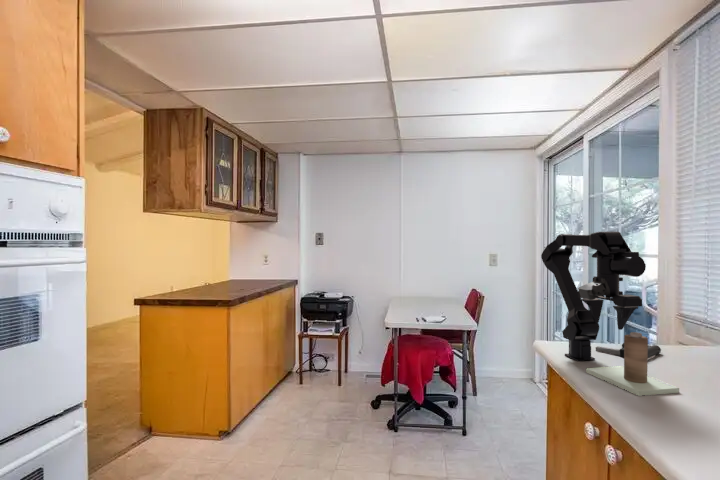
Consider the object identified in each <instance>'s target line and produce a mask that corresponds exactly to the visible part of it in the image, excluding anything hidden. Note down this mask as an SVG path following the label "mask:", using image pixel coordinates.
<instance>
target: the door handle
mask: <svg viewBox="0 0 720 480" xmlns="http://www.w3.org/2000/svg"><path fill="white" fill-rule="evenodd" d="M595 351H596V352H600V353H604V354H609V355H613V356H619V357H621V358H624V342H623V343H622V344H621V348H612V347H605V346H604V347H603V346H596V347H595ZM661 351H662V349H661V347H660V346H659V345H657V344H654V345H653V344H652V345H649V344H648V361H649V360H651V359H652V358H655V357H656V356H657V355H659V354H661V353H662V352H661Z"/></svg>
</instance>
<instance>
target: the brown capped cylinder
mask: <svg viewBox="0 0 720 480" xmlns="http://www.w3.org/2000/svg"><path fill="white" fill-rule="evenodd" d="M623 339H624V340H623V341H624V342H623V343H624V357H623V366H624V379H625V380H627V381H630V382H635V383H647V376H648V365H649V364H648V361H649V360H648V345H649V344H648V343H649V337H647V336H645V335H643V334H642V333H641V332H636V331H631V332H630V333H629V334H625V335H624V338H623Z"/></svg>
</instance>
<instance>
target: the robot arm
mask: <svg viewBox="0 0 720 480" xmlns="http://www.w3.org/2000/svg"><path fill="white" fill-rule="evenodd" d="M563 246H564V248H563ZM574 246H575V247H589V248H590V249H592V250H595V252H594V253H592V254H591V258H595V259H596V276H593V277H592V281H591V282H588V283H586V284H583V285H580V286H579V287H578V288H577V287H576V286H577V285H576V284H575V281H574V279H573V276H572V274H571V272H570V269H569V268H570V263H571V259H570V258H571V256H572V255H573V253H574V251H573V250H574V248H573V247H574ZM540 256H541V257H540V258H541V261H542V263H543V264H544V266H545V268H546V269H547V270H548V271H550V272H551V273H552V274H553V275H554V276H553V277H554V278H555V280H556V283H557V285H558V289H559V290H560V291H559V292H560V293H561V295H562V299H563V301H564V303H565V306H566V308H567V311H568V314H567V317H566V322H567V325H566V326H565V328H564V329H563V330H562V331H561V332H562V337H563V338H564V339H566V340H568V353H564V356H565V357H568V358H570V359H573V360H574V361H577V362H581V361H595V360H596V358H595V357H593V356H592V346H591V345H592V341H597V338H598V334H599V331H600V324H599V322H600V319H601V313H602V309H603V305H604V300H605V301H610V302H612V303H613V304H614V305H612V307H613V308H614V310H615V311H616V324H617V329H618V330H619V331H621V330H623V329H624V327H625V325H626V324H627V322H629V321H628V320H629V319H630V317H631V316H632V315H633V314H634V312H635V310H638V309H639V307H643V298H642V297H640V296H639V295H633V294H624V291H621V290H620V282H623V281H624V279H623V278H624V277H621V276H627V277H636V278H638V277H641V276H642V275H644V273H645V271H646V265H647V264H646V263H645V261H644V259H643V257H641V256H640V253H639V251H632V250H631V248H630V247H629V245H628V244H627V242H626V240H625V239H624V237H623V235H622V232H620V231H595V232H592V233H590V234H572V233H561V234H559V235H557V236H556V238H555V239H554V240H553V241H552V242H550V243H548V244H547V245H546V247H544V250H542V252H541V255H540ZM583 302H584V303H585V304H586V305H587V306H588V309H587V308H586V306H585V305H584V303H583Z"/></svg>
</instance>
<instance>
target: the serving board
mask: <svg viewBox="0 0 720 480" xmlns="http://www.w3.org/2000/svg"><path fill="white" fill-rule="evenodd" d="M585 371H586V373H587V374H588V375H591V376H594V377H596V378H598V379H599V380H602V381H604V380H605V381H604V382H606V381H607V382H606V383H609V384H611V385H613V384H614V385H613V386H615V385H616V387H617V386H618V388H620V389H622V390H624V389H625V391H626V390H627V392H628V391H629V392H628V393H632V394H633V395H635V394H636V395H635V396H637V395H638V396H637V397H643V396H642V395H645V396H654V395H669V394H678V393H680V387H678V386H675V385H672V384H670V383H667V382H665V381H663V380H660V379H659V378H658V379H657V378H656V377H652V376H650V375H647V383H635V382H630V381H627V380H625V379H624V365H618V366H617V365H616V366H602V367H601V366H600V367H588V368H586V370H585Z"/></svg>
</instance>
